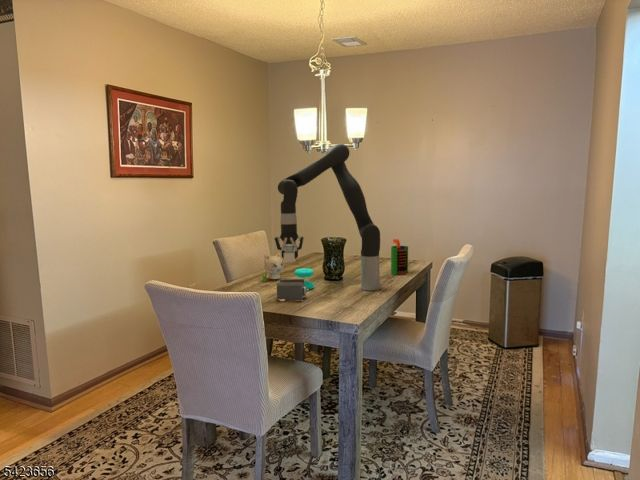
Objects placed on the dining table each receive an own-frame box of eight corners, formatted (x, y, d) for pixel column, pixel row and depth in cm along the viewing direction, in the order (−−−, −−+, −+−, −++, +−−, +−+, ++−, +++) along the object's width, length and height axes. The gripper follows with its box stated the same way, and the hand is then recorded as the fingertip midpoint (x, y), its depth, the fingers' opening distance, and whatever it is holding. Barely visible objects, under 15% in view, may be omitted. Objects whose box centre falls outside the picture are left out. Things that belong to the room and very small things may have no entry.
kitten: (267, 283, 253) (266, 256, 251) (257, 280, 261) (256, 254, 259) (289, 279, 263) (288, 253, 260) (279, 276, 270) (278, 251, 268)
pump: (296, 259, 221) (295, 245, 220) (294, 261, 216) (294, 246, 215) (285, 259, 222) (285, 245, 221) (283, 261, 217) (283, 246, 216)
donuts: (316, 270, 236) (297, 272, 232) (316, 289, 237) (298, 291, 234) (309, 267, 245) (291, 268, 242) (310, 285, 246) (292, 287, 243)
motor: (401, 276, 262) (401, 241, 259) (387, 274, 268) (387, 240, 265) (409, 272, 270) (409, 238, 267) (396, 271, 275) (395, 237, 273)
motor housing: (307, 295, 226) (307, 278, 225) (305, 301, 216) (304, 283, 215) (280, 295, 227) (280, 278, 226) (277, 301, 217) (276, 283, 216)
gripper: (304, 221, 220) (305, 257, 222) (275, 222, 221) (276, 257, 223) (302, 223, 212) (303, 259, 215) (272, 223, 213) (273, 260, 216)
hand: (289, 258), depth 219 cm, fingers closed on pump, 5 cm apart
